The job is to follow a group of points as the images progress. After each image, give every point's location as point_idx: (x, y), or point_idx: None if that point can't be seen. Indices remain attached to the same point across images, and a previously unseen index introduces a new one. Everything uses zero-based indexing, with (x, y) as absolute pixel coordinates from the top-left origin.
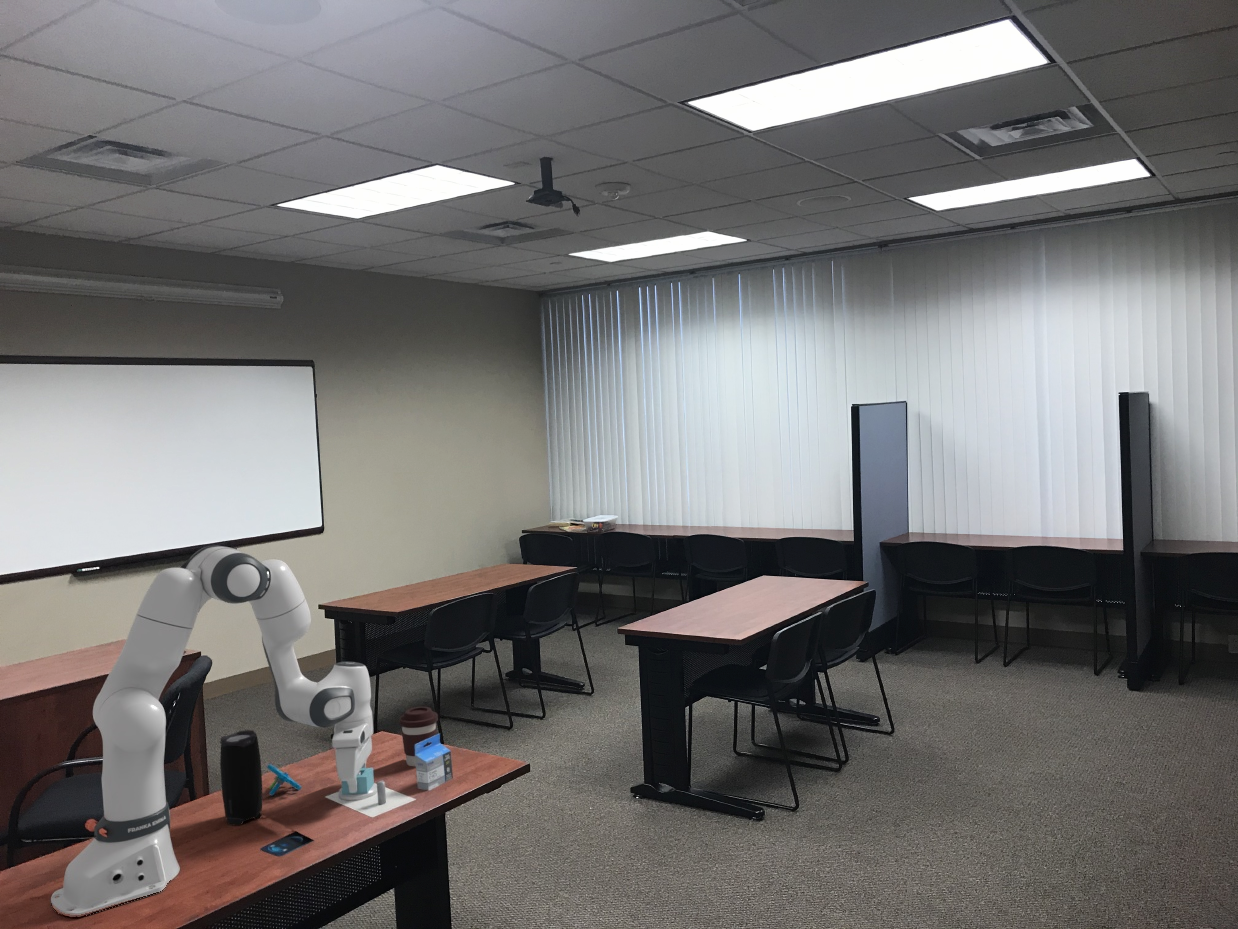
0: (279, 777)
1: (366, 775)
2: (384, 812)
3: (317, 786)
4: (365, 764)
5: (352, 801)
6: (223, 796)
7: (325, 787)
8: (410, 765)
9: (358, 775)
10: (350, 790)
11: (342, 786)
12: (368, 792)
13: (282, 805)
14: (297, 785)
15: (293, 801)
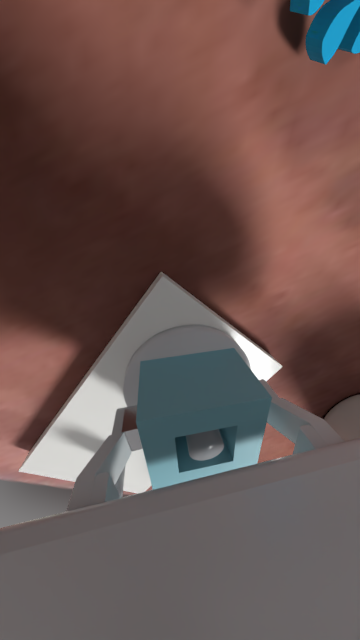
0: None
1: None
2: (59, 478)
3: (341, 160)
4: (295, 443)
5: (121, 388)
6: None
7: (315, 208)
8: (344, 418)
9: (172, 467)
10: (116, 418)
11: (140, 388)
12: None
13: (135, 5)
14: (331, 17)
15: (189, 79)
